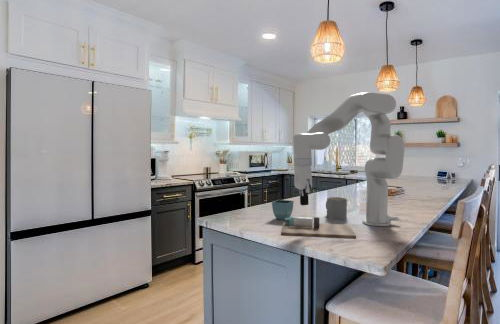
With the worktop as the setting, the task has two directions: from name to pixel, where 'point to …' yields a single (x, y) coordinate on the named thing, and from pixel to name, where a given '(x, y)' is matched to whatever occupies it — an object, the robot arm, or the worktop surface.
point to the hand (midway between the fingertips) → (304, 204)
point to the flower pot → (282, 209)
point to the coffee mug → (336, 208)
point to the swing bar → (301, 221)
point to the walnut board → (318, 230)
